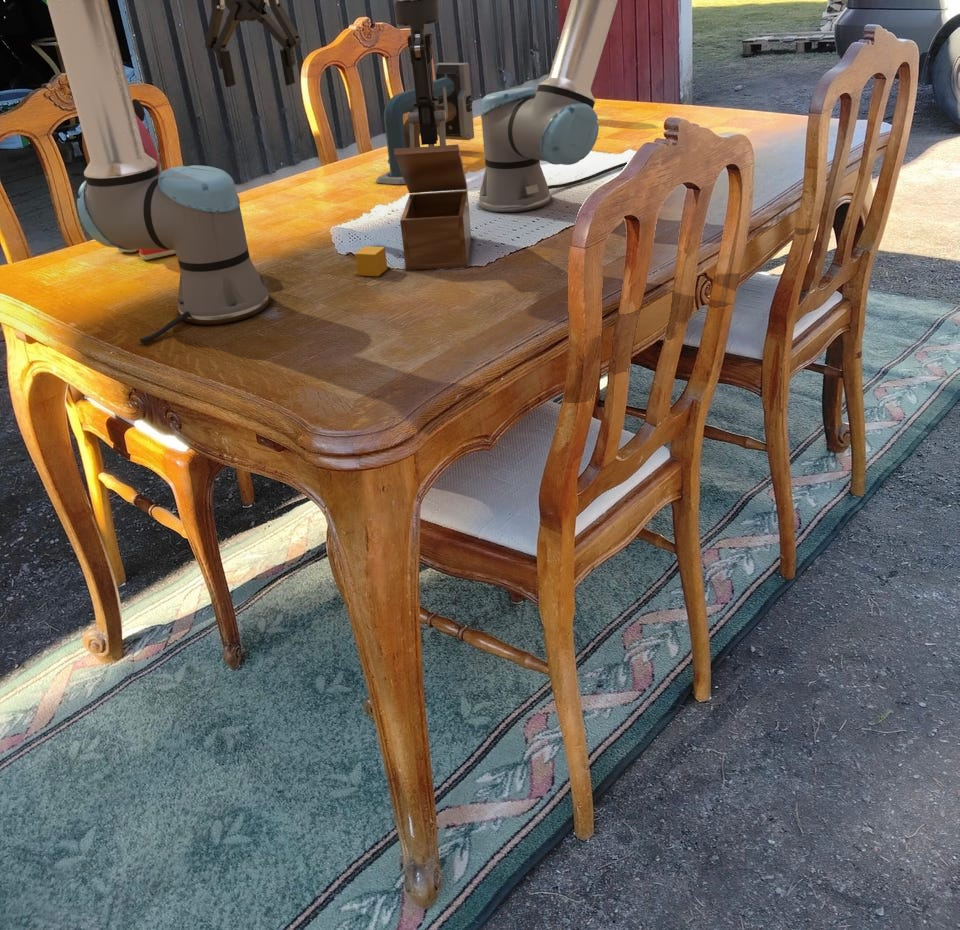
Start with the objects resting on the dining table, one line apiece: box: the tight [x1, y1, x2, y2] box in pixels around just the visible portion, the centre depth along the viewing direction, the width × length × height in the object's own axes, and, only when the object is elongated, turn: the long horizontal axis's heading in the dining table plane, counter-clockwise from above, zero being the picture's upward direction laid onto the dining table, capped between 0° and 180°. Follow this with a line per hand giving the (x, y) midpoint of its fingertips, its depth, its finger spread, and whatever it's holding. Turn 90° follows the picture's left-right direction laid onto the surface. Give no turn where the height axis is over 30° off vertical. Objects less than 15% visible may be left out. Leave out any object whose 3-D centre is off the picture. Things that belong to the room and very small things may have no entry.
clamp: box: [375, 62, 475, 185], centre depth 238 cm, size 35×9×21 cm, turn 151°
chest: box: [399, 189, 472, 271], centre depth 181 cm, size 17×11×9 cm, turn 178°
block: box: [354, 245, 388, 277], centre depth 176 cm, size 4×4×4 cm
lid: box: [394, 110, 468, 194], centre depth 177 cm, size 18×11×9 cm
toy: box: [81, 98, 176, 260], centre depth 191 cm, size 21×10×30 cm, turn 47°
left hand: (260, 85), depth 196 cm, fingers open, 13 cm apart
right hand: (429, 142), depth 174 cm, fingers closed on lid, 2 cm apart
